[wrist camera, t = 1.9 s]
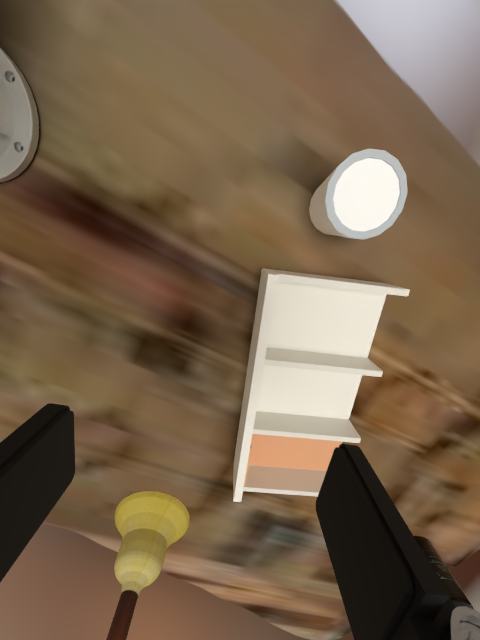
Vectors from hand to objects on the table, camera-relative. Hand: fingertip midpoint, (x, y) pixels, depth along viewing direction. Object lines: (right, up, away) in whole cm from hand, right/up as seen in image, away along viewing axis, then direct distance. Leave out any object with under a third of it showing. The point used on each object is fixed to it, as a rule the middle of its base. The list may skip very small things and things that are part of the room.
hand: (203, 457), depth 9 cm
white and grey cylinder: (+12, +17, +18) cm, 28 cm away
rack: (+10, -4, +25) cm, 27 cm away
